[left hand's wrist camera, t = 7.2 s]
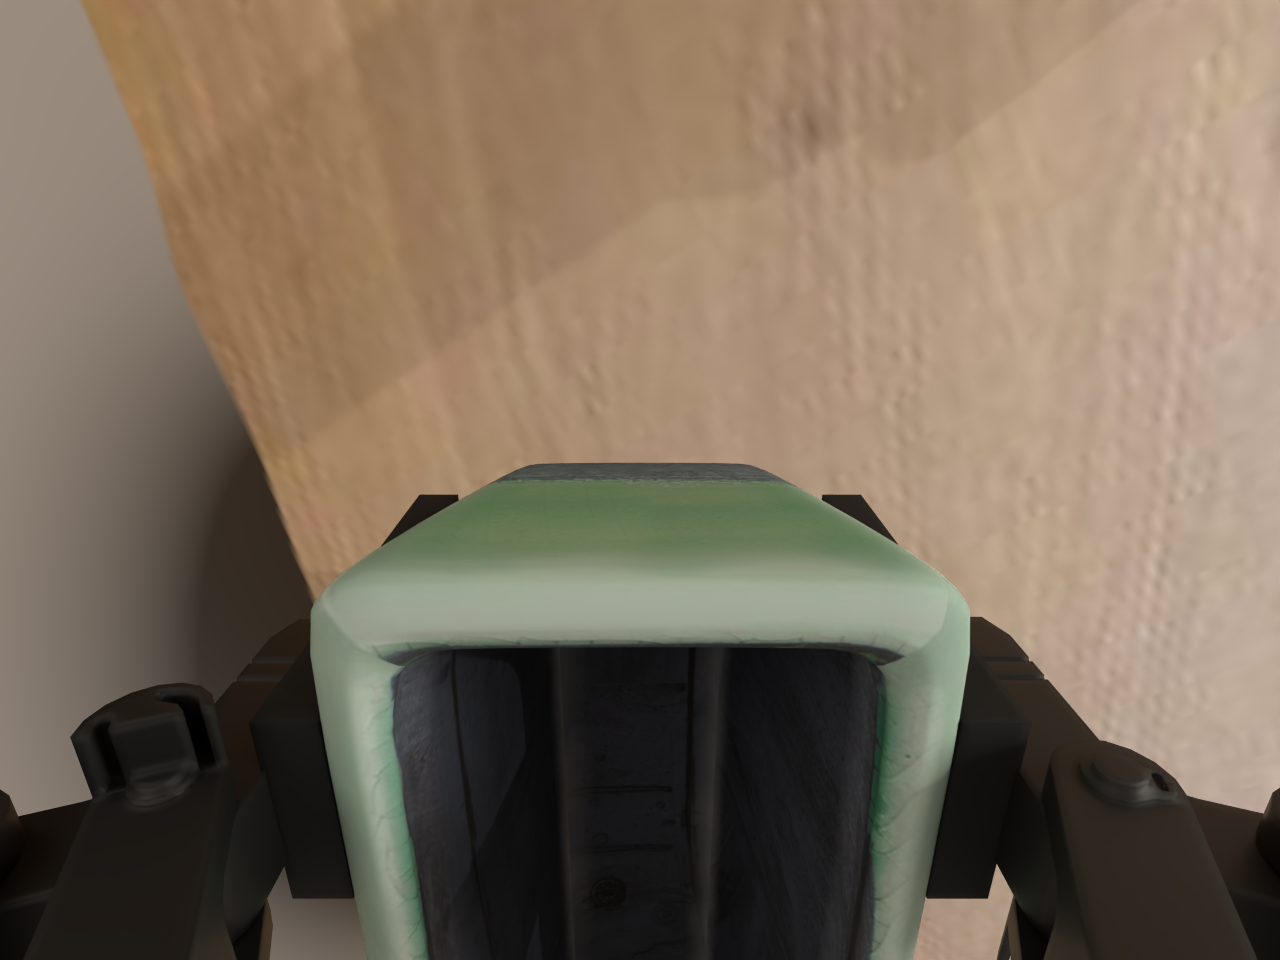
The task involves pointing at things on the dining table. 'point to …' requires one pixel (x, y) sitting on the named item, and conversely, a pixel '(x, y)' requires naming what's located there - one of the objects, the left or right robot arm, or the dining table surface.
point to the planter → (640, 722)
